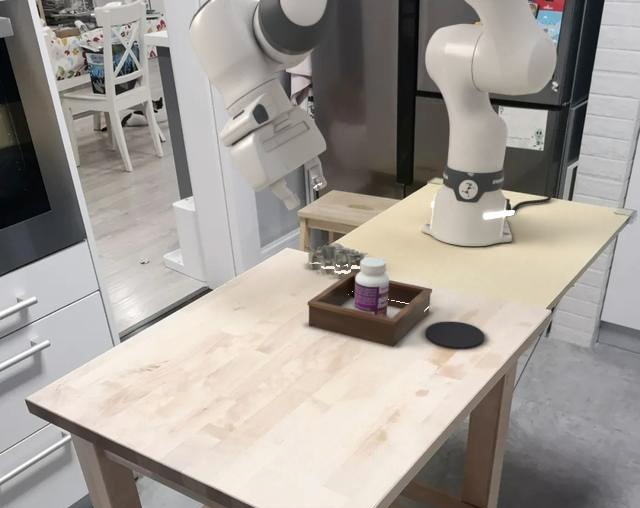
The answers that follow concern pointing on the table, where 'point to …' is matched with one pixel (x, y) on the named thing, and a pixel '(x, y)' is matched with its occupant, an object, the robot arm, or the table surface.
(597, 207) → the table surface
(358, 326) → the wooden square frame
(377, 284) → the pill bottle
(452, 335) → the coaster
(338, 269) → the egg carton
